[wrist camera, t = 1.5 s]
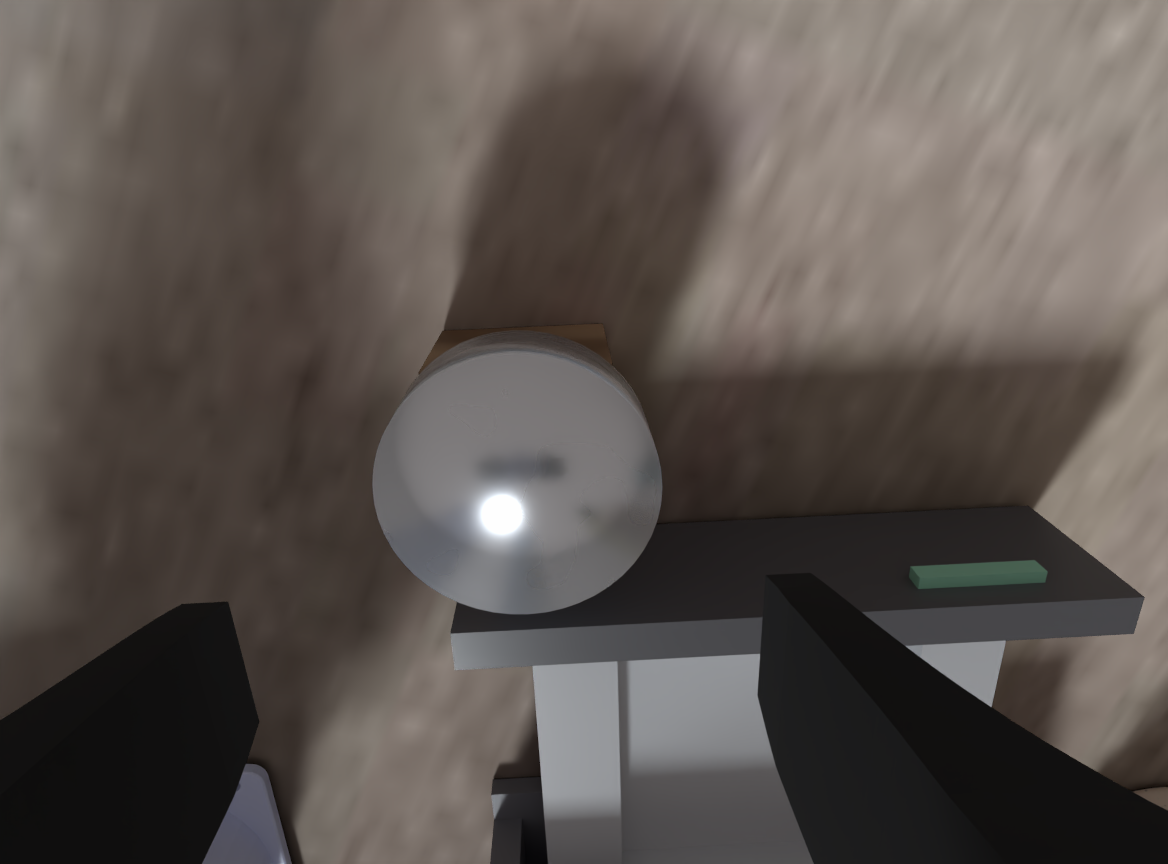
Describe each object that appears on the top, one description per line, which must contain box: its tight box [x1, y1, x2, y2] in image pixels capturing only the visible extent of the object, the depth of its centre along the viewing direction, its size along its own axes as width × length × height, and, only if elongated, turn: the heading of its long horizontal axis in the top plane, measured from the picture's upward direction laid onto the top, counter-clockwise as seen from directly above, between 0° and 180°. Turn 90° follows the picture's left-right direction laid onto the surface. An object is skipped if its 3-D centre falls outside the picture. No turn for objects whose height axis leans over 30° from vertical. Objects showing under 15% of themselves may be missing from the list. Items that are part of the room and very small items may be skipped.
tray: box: [450, 506, 1144, 864], centre depth 21 cm, size 16×12×4 cm
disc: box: [372, 330, 662, 614], centre depth 15 cm, size 6×6×2 cm
